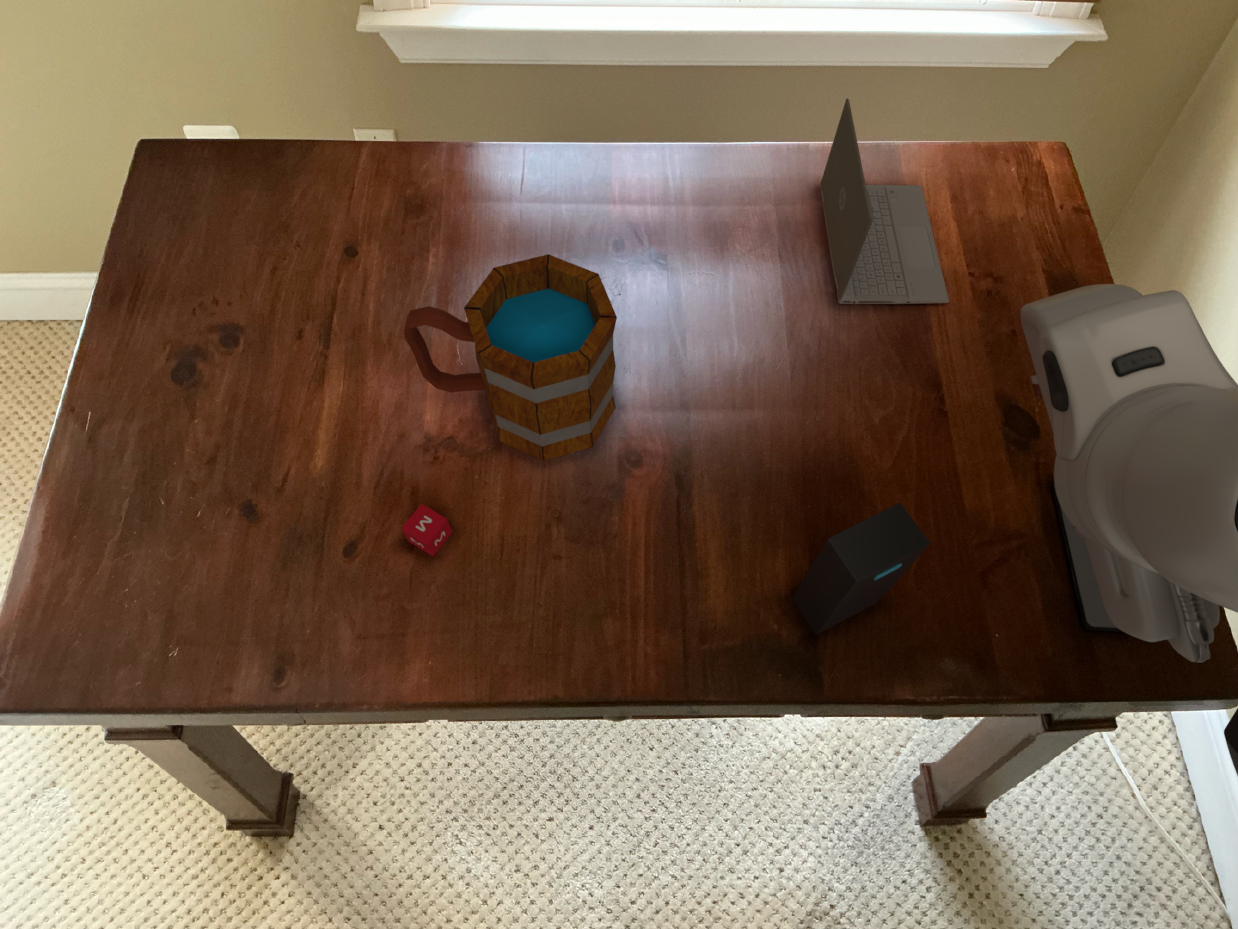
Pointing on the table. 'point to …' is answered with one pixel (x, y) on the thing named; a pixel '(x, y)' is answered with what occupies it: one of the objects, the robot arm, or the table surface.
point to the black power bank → (859, 567)
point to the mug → (533, 353)
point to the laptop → (876, 232)
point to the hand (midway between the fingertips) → (1065, 451)
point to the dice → (427, 529)
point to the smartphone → (1083, 577)
